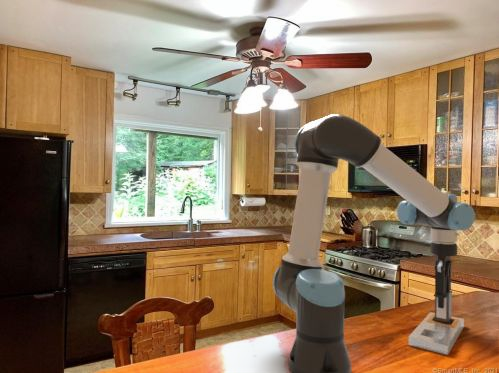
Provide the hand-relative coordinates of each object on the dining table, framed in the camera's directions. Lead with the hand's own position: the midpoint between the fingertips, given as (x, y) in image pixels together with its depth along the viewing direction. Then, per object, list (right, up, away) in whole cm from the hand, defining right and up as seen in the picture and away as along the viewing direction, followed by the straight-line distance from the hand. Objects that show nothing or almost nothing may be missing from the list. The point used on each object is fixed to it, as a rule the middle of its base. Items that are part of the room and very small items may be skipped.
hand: (442, 315), depth 119 cm
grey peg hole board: (-4, -4, -5) cm, 8 cm away
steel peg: (0, -3, 0) cm, 3 cm away
